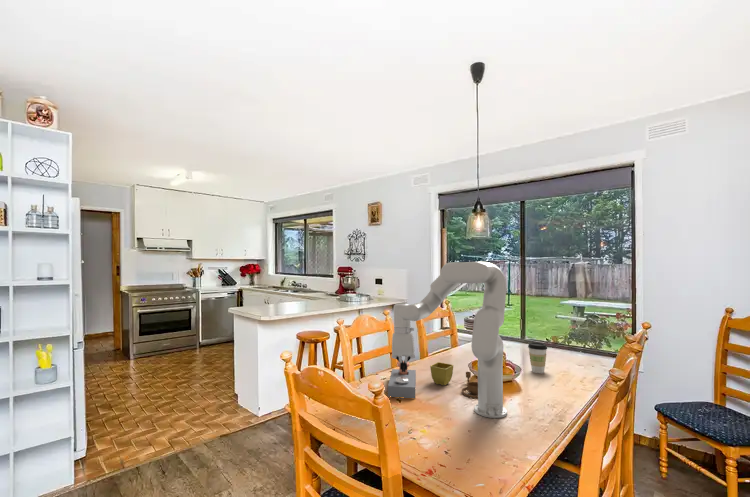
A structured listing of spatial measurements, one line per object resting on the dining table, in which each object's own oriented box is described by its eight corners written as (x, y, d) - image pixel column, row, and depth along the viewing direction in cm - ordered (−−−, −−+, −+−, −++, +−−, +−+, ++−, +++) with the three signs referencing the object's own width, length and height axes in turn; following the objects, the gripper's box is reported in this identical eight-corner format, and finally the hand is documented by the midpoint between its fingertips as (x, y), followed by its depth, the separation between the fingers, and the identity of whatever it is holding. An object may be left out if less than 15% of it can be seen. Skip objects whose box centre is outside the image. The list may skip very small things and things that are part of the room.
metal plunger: (408, 395, 158) (408, 381, 159) (395, 395, 159) (395, 380, 159) (408, 390, 164) (408, 377, 165) (396, 390, 165) (396, 376, 165)
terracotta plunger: (409, 377, 172) (409, 364, 173) (397, 377, 173) (397, 364, 173) (409, 373, 178) (409, 361, 179) (397, 373, 179) (397, 360, 179)
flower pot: (446, 388, 169) (446, 368, 170) (429, 384, 174) (429, 365, 175) (454, 383, 176) (453, 364, 177) (438, 379, 181) (438, 361, 182)
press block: (415, 399, 155) (415, 387, 155) (387, 397, 156) (387, 386, 157) (415, 379, 181) (415, 370, 181) (392, 379, 182) (392, 369, 183)
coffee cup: (524, 370, 198) (523, 343, 199) (536, 368, 202) (536, 341, 203) (539, 375, 189) (538, 346, 190) (551, 372, 193) (551, 345, 194)
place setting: (451, 395, 161) (451, 382, 161) (465, 382, 178) (465, 371, 178) (490, 403, 152) (490, 389, 152) (501, 389, 169) (501, 376, 169)
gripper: (418, 329, 166) (420, 369, 165) (387, 329, 168) (388, 368, 166) (418, 331, 158) (420, 373, 157) (385, 332, 160) (386, 373, 159)
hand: (403, 371), depth 162 cm, fingers closed
